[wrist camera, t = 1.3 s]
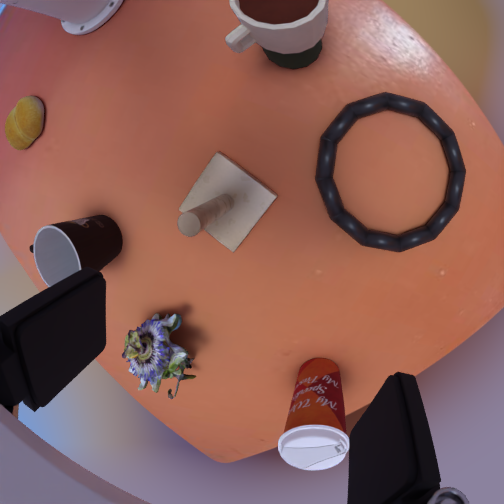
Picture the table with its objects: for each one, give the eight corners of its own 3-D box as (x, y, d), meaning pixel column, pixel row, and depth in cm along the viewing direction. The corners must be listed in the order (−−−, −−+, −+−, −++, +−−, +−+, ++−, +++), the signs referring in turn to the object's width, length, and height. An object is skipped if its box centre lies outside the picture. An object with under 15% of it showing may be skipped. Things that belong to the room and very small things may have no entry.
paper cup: (335, 343, 37) (335, 426, 24) (354, 382, 39) (359, 463, 26) (280, 362, 40) (261, 443, 27) (304, 398, 41) (293, 477, 28)
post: (182, 207, 36) (130, 232, 25) (220, 151, 33) (176, 153, 22) (235, 249, 36) (202, 290, 26) (278, 195, 33) (259, 216, 23)
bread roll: (52, 125, 36) (33, 125, 32) (23, 156, 39) (5, 159, 35) (40, 84, 34) (22, 83, 30) (12, 117, 37) (-5, 118, 33)
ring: (285, 181, 32) (283, 182, 31) (377, 66, 26) (380, 62, 25) (396, 275, 33) (400, 281, 31) (483, 170, 27) (490, 171, 25)
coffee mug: (137, 227, 38) (88, 252, 29) (118, 278, 41) (74, 309, 32) (77, 186, 38) (25, 199, 29) (64, 235, 41) (17, 257, 32)
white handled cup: (307, -1, 25) (299, -66, 13) (352, 41, 26) (369, -15, 14) (233, 53, 29) (187, 8, 17) (275, 97, 30) (249, 65, 18)
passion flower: (175, 301, 47) (163, 295, 35) (221, 355, 46) (223, 367, 34) (122, 345, 44) (95, 351, 32) (166, 399, 43) (152, 422, 31)
